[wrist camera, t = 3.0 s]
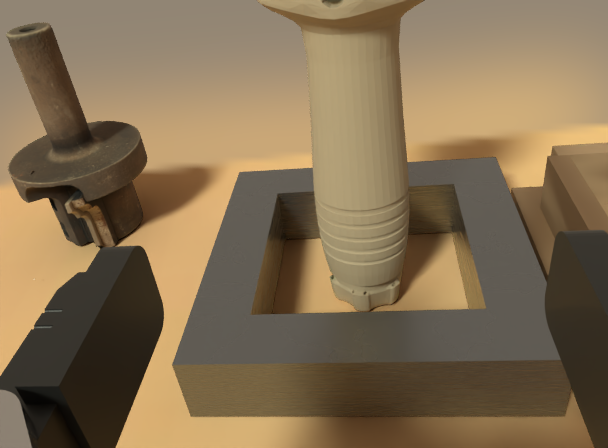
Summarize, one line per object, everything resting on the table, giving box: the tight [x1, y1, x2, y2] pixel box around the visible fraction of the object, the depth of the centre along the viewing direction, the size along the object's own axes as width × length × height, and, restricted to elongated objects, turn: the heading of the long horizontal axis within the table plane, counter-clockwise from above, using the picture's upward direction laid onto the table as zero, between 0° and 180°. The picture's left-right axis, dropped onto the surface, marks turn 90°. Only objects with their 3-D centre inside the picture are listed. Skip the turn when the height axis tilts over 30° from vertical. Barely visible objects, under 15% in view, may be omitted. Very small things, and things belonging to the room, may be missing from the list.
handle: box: [257, 0, 424, 312], centre depth 23 cm, size 5×6×15 cm
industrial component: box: [6, 23, 147, 249], centre depth 31 cm, size 9×7×12 cm
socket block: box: [172, 157, 571, 416], centre depth 26 cm, size 14×14×3 cm
